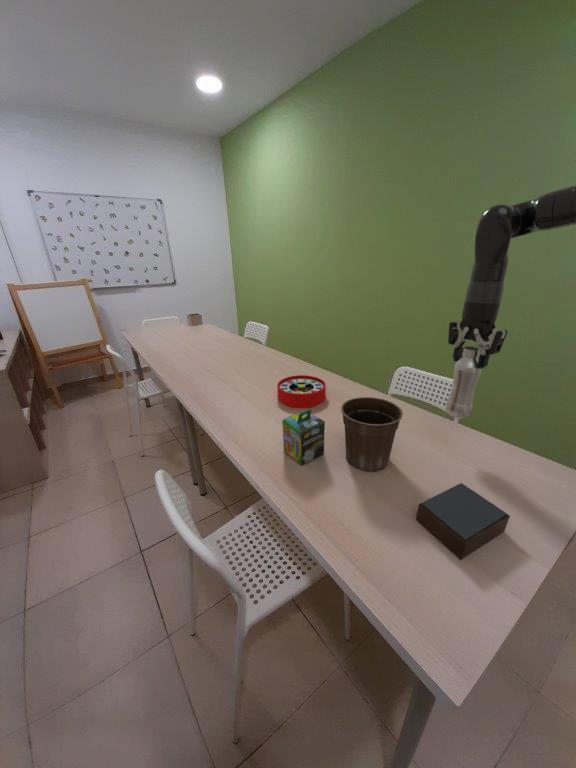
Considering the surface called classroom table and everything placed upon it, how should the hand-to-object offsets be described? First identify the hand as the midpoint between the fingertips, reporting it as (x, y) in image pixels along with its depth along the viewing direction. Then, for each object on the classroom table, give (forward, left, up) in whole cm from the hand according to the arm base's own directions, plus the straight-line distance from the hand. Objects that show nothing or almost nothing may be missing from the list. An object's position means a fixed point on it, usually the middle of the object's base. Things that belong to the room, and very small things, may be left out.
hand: (468, 364), depth 80 cm
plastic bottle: (0, 0, -16) cm, 16 cm away
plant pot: (+25, -8, -27) cm, 38 cm away
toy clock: (+22, -53, -27) cm, 64 cm away
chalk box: (+40, -19, -27) cm, 52 cm away
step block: (+23, +20, -27) cm, 40 cm away
